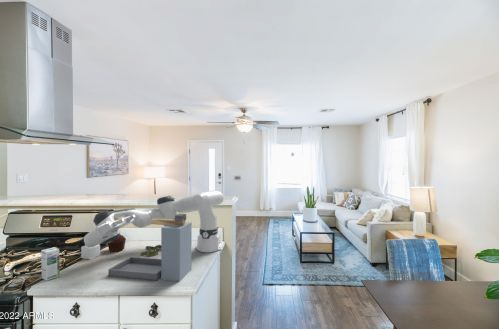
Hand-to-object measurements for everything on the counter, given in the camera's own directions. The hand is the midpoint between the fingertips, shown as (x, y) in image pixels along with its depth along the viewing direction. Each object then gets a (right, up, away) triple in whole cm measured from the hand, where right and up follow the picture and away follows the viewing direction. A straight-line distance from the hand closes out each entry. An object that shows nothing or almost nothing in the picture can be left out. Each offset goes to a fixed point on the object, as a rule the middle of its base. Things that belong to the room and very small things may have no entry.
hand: (128, 217), depth 139 cm
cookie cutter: (+2, -29, +28) cm, 40 cm away
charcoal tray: (+8, -29, -1) cm, 30 cm away
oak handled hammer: (+23, -3, -4) cm, 23 cm away
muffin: (-23, -28, +31) cm, 48 cm away
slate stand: (+28, -29, -5) cm, 40 cm away
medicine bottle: (-32, -28, +19) cm, 47 cm away
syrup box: (-35, -29, -9) cm, 46 cm away
